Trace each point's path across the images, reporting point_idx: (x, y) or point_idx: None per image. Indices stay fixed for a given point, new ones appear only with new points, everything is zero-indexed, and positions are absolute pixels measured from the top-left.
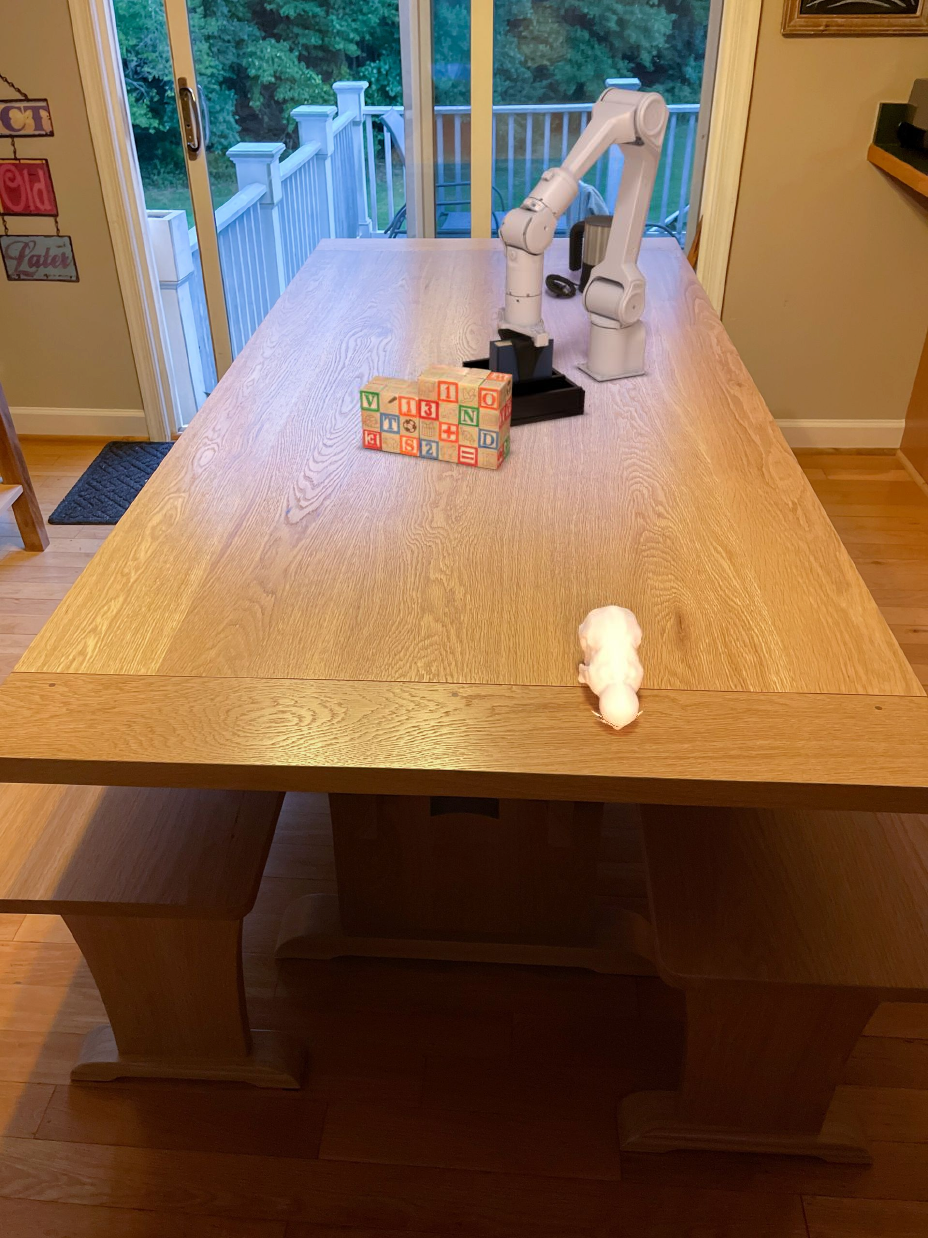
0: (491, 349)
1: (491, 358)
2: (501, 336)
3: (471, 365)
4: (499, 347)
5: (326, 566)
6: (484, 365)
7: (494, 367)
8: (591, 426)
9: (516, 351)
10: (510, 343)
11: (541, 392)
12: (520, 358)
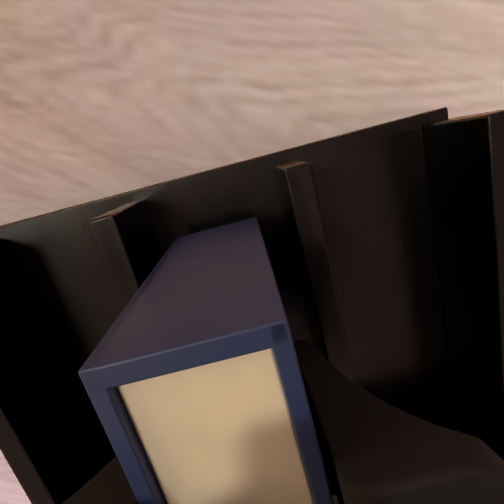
0: (230, 300)
1: (224, 273)
2: (388, 453)
3: (474, 163)
4: (89, 389)
5: None
6: (474, 235)
7: (177, 271)
8: (19, 485)
9: (109, 490)
10: (220, 491)
11: (10, 433)
12: (103, 469)
